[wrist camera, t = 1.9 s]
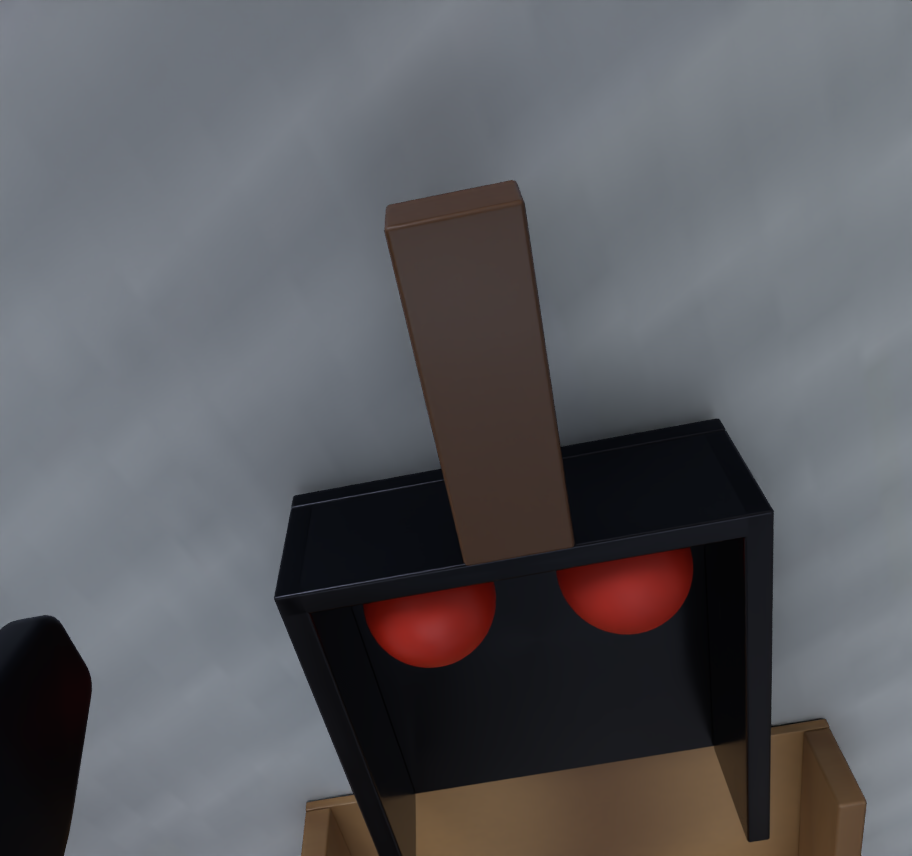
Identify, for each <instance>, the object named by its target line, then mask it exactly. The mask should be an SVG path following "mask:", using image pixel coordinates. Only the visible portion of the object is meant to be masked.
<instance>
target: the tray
mask: <svg viewBox="0 0 912 856" xmlns="http://www.w3.org/2000/svg"><path fill="white" fill-rule="evenodd" d="M415 795H416V856H861V849H862V840H863V831H864V822H865V813H866V804H867V802H866V799H865V797H864V795H863V793H862V791H861V789H860V787H859V785H858V783H857V781H856V779H855V777H854V775H853V773H852V771H851V769H850V767H849V766H848V764H847V762H846V760H845V758H844V756H843V754H842V752H841V750H840V748H839V746H838V744H837V742H836V740H835V738H834V736H833V734H832V732H831V730H830V729H829V725H828V723H827V721H826V719H821V720H815V721H809V722H802V723H796V724H790V725H784V726H778V727H771V779H770V839H768V840H763V841H756V842H748V841H747V839H746V836H745V834H744V831H743V828H742V825H741V822H740V820H739V817H738V814H737V811H736V808H735V806H734V803H733V800H732V797H731V794H730V792H729V789H728V786H727V783H726V781H725V778H724V775H723V772H722V769H721V767H720V764H719V761H718V758H717V755H716V753H715V750H714V746H712V747H705V748H699V749H693V750H687V751H680V752H674V753H668V754H662V755H655V756H649V757H643V758H637V759H631V760H624V761H618V762H612V763H606V764H599V765H593V766H587V767H581V768H574V769H568V770H562V771H556V772H550V773H543V774H537V775H531V776H525V777H518V778H512V779H506V780H500V781H493V782H487V783H481V784H475V785H468V786H462V787H456V788H450V789H444V790H437V791H431V792H425V793H419V794H415ZM301 856H379V855H378V853H377V850H376V848H375V845H374V843H373V841H372V838H371V836H370V833H369V831H368V828H367V826H366V823H365V821H364V818H363V816H362V813H361V811H360V809H359V806H358V804H357V801H356V799H355V796H354V795H349V796H343V797H337V798H330V799H324V800H318V801H312V802H307V803H306V817H305V826H304V835H303V844H302V853H301Z"/></svg>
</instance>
